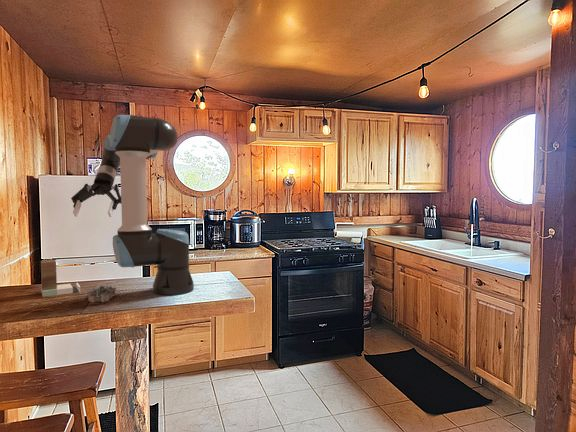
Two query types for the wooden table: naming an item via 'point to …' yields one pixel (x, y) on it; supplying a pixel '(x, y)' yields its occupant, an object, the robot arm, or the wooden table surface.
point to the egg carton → (101, 293)
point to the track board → (61, 290)
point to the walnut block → (48, 275)
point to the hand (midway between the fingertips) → (92, 214)
